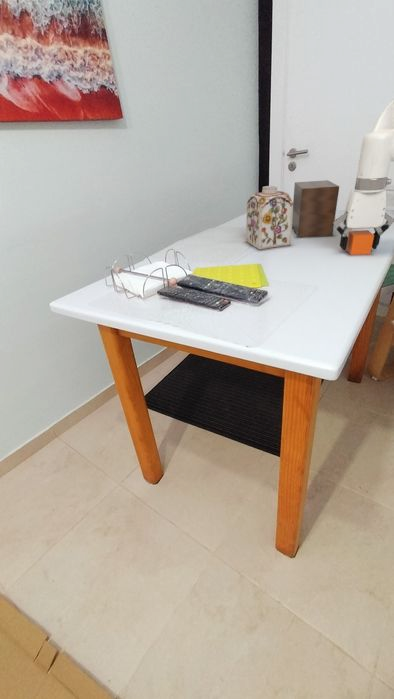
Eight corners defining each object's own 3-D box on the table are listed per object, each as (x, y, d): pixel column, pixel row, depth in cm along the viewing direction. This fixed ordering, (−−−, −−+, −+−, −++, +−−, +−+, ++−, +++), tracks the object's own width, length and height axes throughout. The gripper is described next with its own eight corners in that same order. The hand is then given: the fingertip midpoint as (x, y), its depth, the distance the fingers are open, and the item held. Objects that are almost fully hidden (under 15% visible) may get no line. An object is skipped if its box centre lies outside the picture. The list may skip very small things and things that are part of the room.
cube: (364, 248, 104) (368, 230, 101) (370, 254, 100) (374, 234, 97) (345, 249, 105) (348, 231, 102) (350, 255, 100) (354, 235, 97)
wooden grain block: (322, 225, 133) (327, 180, 125) (332, 235, 119) (339, 186, 111) (291, 226, 135) (294, 182, 126) (297, 237, 121) (301, 188, 112)
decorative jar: (245, 241, 120) (246, 186, 111) (275, 237, 122) (278, 183, 113) (259, 250, 111) (260, 190, 101) (291, 245, 113) (296, 186, 103)
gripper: (398, 181, 95) (384, 244, 104) (333, 185, 97) (325, 246, 106) (409, 184, 88) (393, 251, 98) (340, 188, 90) (331, 253, 100)
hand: (358, 248), depth 102 cm, fingers open, 8 cm apart
